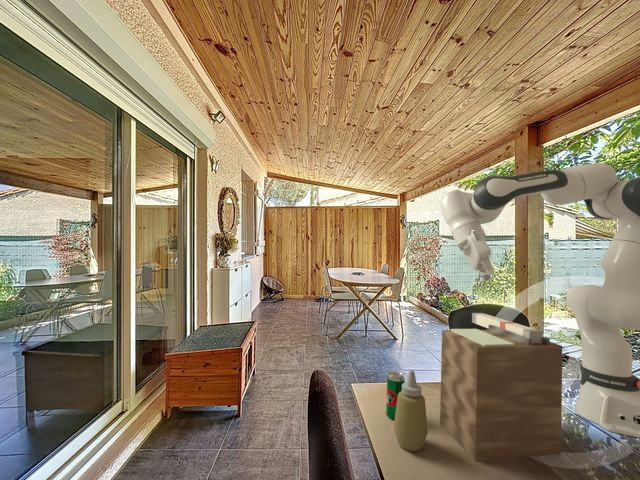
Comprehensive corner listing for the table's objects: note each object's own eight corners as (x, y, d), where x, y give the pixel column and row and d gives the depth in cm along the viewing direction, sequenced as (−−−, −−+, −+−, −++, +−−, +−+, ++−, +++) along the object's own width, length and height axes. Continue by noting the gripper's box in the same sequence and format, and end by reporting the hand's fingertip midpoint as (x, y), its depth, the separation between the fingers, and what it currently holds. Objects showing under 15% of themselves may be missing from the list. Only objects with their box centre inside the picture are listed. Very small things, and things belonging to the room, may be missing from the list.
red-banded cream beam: (471, 322, 98) (472, 312, 98) (482, 322, 98) (482, 312, 98) (529, 343, 76) (529, 331, 76) (541, 343, 77) (542, 331, 77)
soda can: (404, 422, 86) (405, 379, 86) (386, 419, 87) (387, 376, 87) (403, 412, 91) (404, 372, 91) (386, 410, 92) (387, 370, 92)
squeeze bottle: (386, 439, 78) (388, 367, 78) (410, 431, 82) (412, 363, 82) (409, 459, 71) (411, 380, 71) (434, 449, 74) (436, 374, 75)
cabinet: (440, 423, 86) (442, 325, 86) (513, 419, 89) (514, 324, 90) (475, 461, 71) (477, 341, 72) (561, 453, 74) (562, 339, 75)
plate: (450, 330, 87) (450, 329, 87) (476, 330, 88) (476, 328, 88) (484, 346, 73) (484, 344, 73) (514, 345, 74) (514, 344, 74)
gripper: (482, 221, 88) (505, 266, 82) (477, 242, 106) (496, 279, 100) (459, 230, 89) (481, 274, 84) (459, 248, 107) (476, 286, 102)
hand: (489, 277), depth 92 cm, fingers open, 8 cm apart
